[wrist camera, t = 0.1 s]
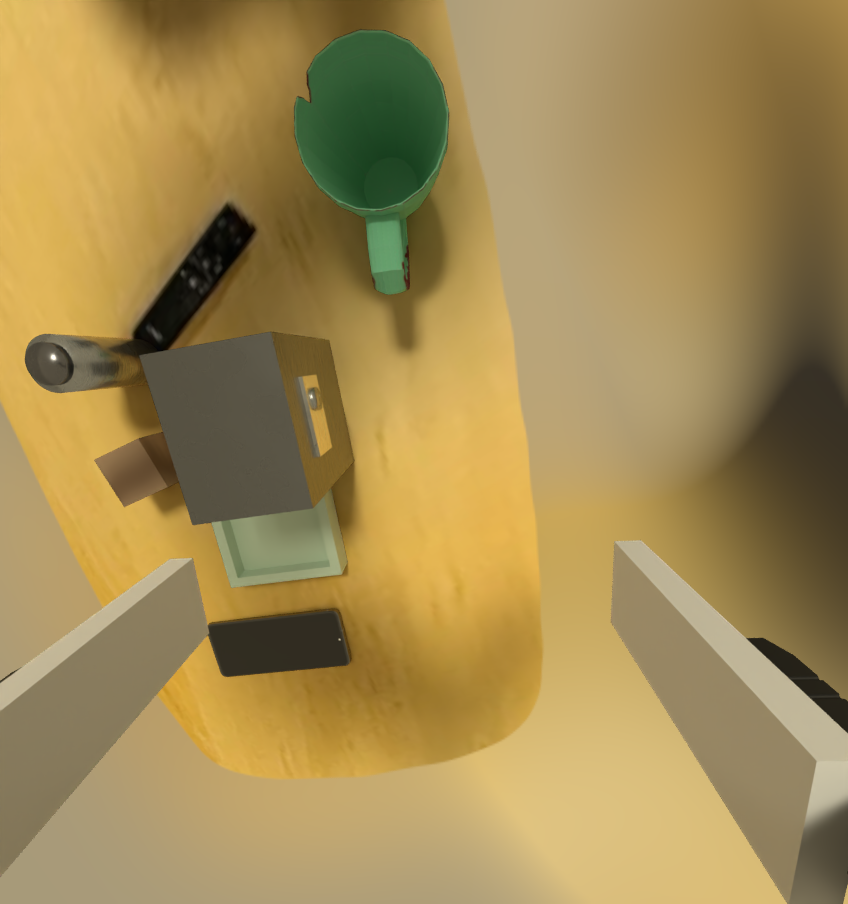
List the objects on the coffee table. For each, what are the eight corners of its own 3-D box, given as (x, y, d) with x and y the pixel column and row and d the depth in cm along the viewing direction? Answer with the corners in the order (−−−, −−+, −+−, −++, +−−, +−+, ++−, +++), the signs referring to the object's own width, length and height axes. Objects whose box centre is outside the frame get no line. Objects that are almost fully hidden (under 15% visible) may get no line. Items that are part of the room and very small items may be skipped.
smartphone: (203, 625, 45) (337, 610, 44) (209, 619, 47) (340, 604, 45) (221, 679, 47) (351, 666, 45) (226, 672, 48) (353, 659, 46)
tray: (212, 472, 41) (198, 479, 39) (323, 455, 40) (315, 462, 38) (242, 575, 44) (231, 587, 42) (347, 562, 43) (341, 574, 41)
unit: (236, 356, 39) (134, 356, 26) (334, 339, 38) (279, 330, 25) (267, 473, 41) (188, 525, 29) (359, 460, 40) (320, 507, 28)
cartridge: (112, 343, 39) (8, 338, 30) (154, 335, 38) (61, 328, 29) (127, 388, 40) (30, 397, 31) (168, 381, 39) (82, 388, 30)
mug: (327, 132, 34) (279, 42, 24) (442, 115, 33) (441, 14, 23) (352, 313, 37) (319, 298, 27) (457, 301, 36) (462, 281, 27)
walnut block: (135, 447, 41) (94, 460, 37) (174, 428, 41) (138, 438, 36) (160, 489, 42) (124, 507, 37) (200, 471, 42) (167, 486, 37)
